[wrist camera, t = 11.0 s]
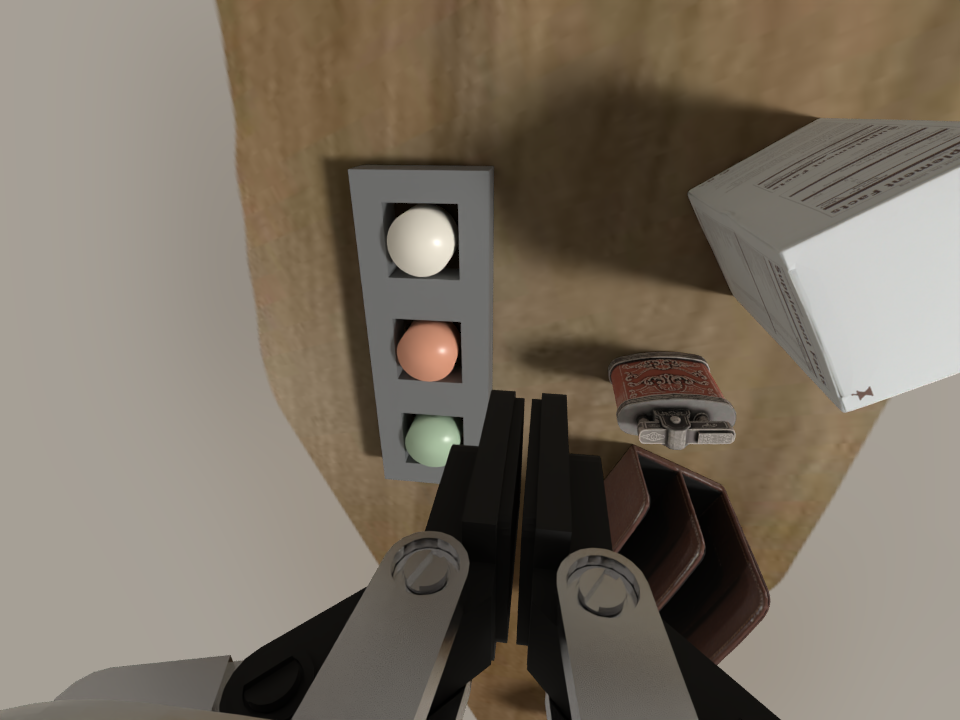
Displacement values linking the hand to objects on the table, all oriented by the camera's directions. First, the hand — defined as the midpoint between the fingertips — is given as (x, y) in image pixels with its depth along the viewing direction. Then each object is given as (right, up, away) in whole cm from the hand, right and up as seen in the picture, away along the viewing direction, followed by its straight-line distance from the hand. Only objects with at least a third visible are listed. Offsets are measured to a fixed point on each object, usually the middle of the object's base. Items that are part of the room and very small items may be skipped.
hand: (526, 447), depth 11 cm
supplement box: (+20, +12, +24) cm, 33 cm away
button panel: (-5, +4, +32) cm, 32 cm away
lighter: (+14, +1, +31) cm, 34 cm away
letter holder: (+14, -15, +39) cm, 44 cm away
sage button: (-5, -4, +35) cm, 36 cm away
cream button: (-5, +12, +27) cm, 30 cm away
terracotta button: (-5, +4, +31) cm, 32 cm away
